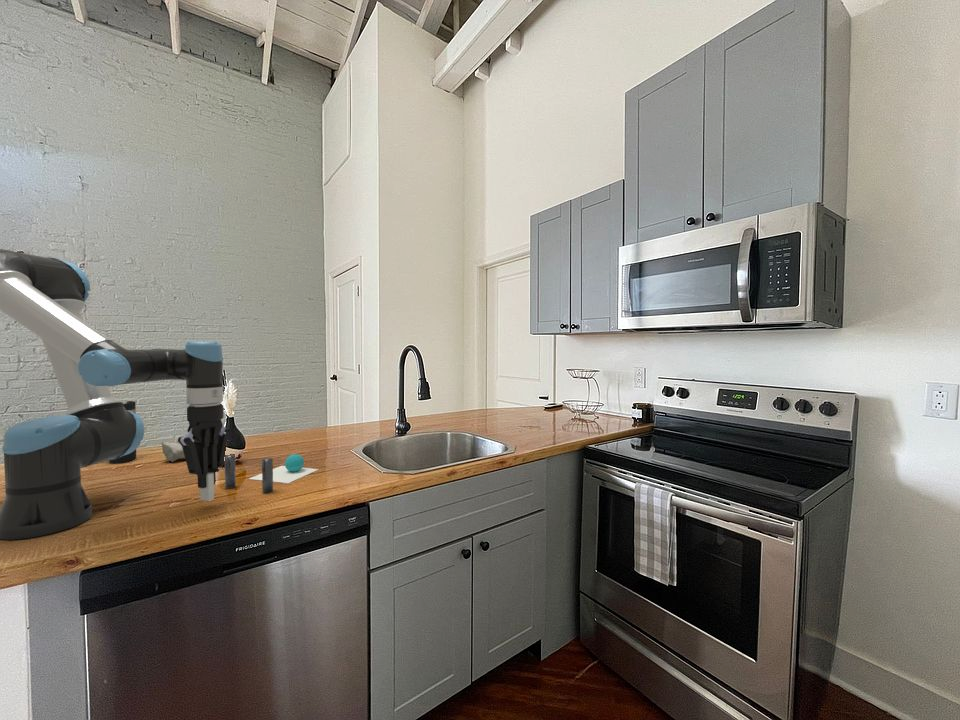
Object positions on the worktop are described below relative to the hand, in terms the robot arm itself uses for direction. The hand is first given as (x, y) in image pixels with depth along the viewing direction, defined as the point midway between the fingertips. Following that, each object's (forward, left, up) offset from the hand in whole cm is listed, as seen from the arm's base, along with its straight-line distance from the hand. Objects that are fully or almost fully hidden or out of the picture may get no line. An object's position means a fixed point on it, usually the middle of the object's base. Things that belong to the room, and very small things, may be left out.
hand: (207, 499), depth 105 cm
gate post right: (+13, -6, -2) cm, 15 cm away
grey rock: (+32, +45, -2) cm, 55 cm away
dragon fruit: (+30, +27, -2) cm, 40 cm away
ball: (+30, -1, +1) cm, 30 cm away
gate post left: (+13, +6, -2) cm, 15 cm away
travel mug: (+24, +63, -2) cm, 67 cm away
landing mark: (+27, 0, -2) cm, 27 cm away
